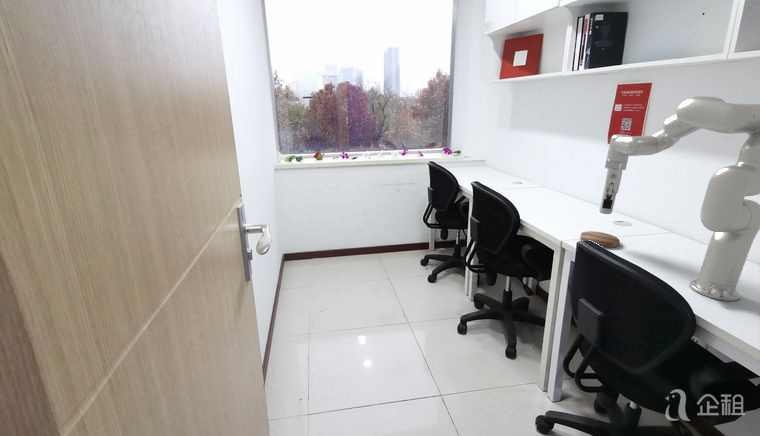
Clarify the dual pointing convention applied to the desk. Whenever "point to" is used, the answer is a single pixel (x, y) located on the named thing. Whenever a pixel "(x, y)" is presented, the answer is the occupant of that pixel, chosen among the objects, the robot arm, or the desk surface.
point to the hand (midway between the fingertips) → (606, 206)
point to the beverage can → (602, 210)
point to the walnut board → (601, 239)
